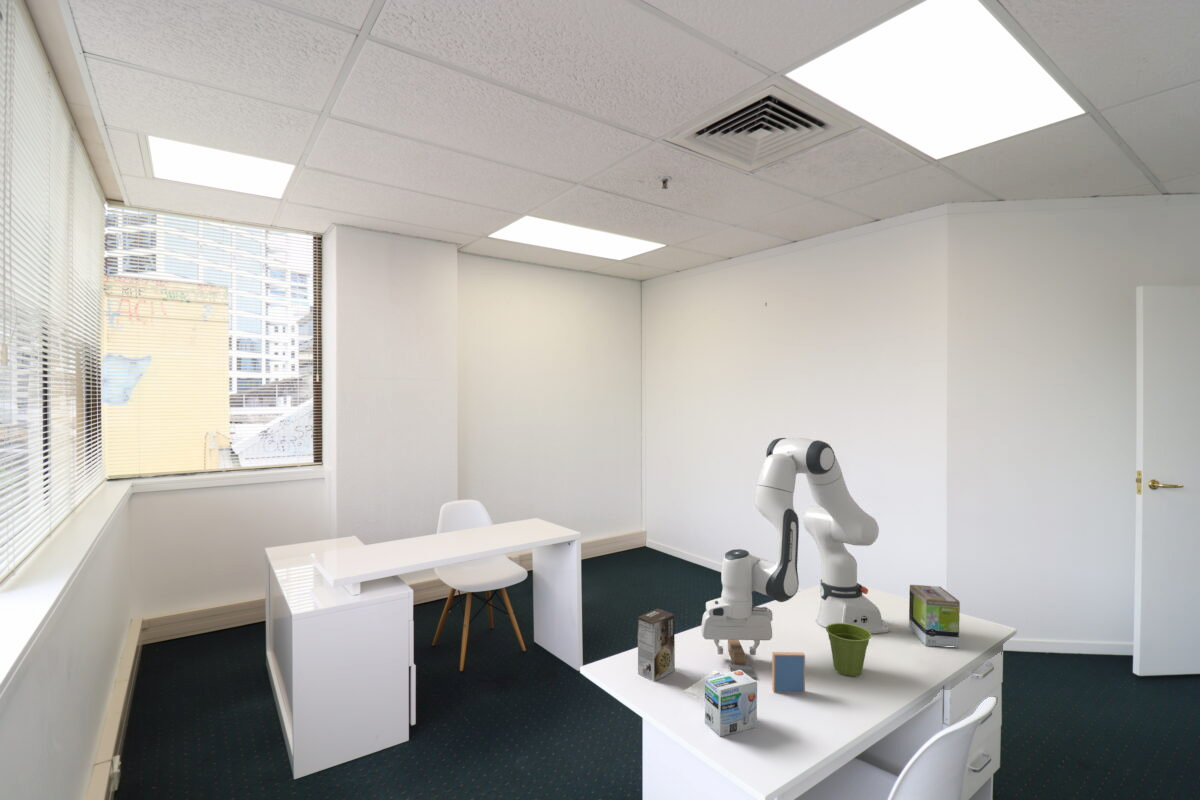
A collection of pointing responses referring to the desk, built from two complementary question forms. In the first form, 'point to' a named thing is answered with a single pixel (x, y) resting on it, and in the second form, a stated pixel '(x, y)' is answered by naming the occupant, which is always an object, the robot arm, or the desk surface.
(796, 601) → the desk surface
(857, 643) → the plant pot
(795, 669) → the tile
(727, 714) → the light bulb box
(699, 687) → the butcher knife
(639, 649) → the coffee box
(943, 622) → the tea box
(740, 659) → the wooden handled scraper
